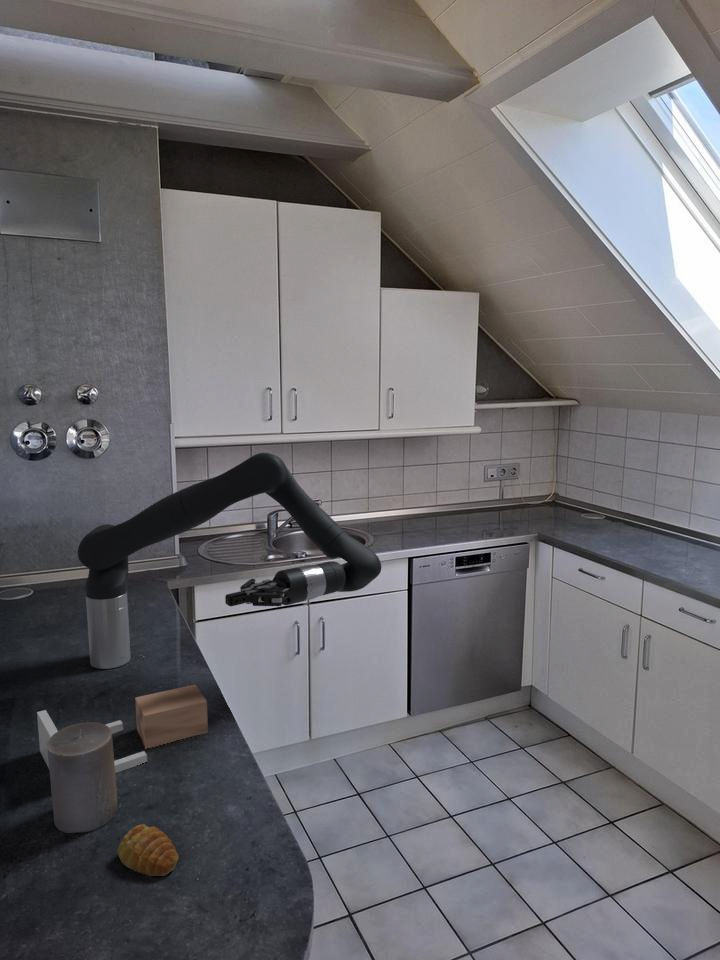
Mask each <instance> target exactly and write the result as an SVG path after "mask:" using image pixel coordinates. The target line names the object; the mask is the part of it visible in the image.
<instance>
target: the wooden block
mask: <svg viewBox="0 0 720 960" xmlns="http://www.w3.org/2000/svg"><path fill="white" fill-rule="evenodd" d="M135 716H136V717H135V718H136V730H137V733H138V735H139V737H141V738H140V740H141V739H142V740H141V742H142V744H143V746H145V747H144V749H145V750H148V749H147V748H149V749H153V748H157V747H160V746H159V745H161V746H164V745H163V744H165V745H168V744H167V743H169V744H171V743H170V742H173V741H176V740H180V739H183V738H186V737H190V736H193V735H198V734H203V733H208V734H209V728H208V727H209V725H208V723H209V722H208V701H207V699H206V698H205V696H204V694H202V692H201V690H200V689H199V688H198V686H197V685H196V684H191V685H188V686H186V685H185V686H183V687H177V688H172V689H167V690H163V691H159V692H158V691H157V692H154V693H150V694H145V695H141V696H137V697H135ZM180 741H181V740H180ZM173 743H174V742H173ZM156 746H157V747H156ZM152 747H153V748H152Z"/></svg>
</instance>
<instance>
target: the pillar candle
mask: <svg viewBox="0 0 720 960" xmlns="http://www.w3.org/2000/svg"><path fill="white" fill-rule="evenodd" d="M47 750H48V761H49V768H48V770H49V779H50V780H49V781H50V791H51V792H50V793H51V802H52V811H53V812H52V813H53V821H54V826H55V828H57V829H58V830H59V831H60V832H63V833H65V834H73V833H74V834H75V833H76V834H77V833H88V832H93V831H95V830H98V829H100V828H101V827H103V826H105V825H106V824H108V823H109V822H110V821H111V820H112V819H113V818H114V817H115V815H116V813H117V812H118V808H119V806H118V805H119V802H118V789H117V779H116V777H117V776H116V775H117V774H116V773H115V765H114V761H115V757H114V756H115V754H114V753H115V752H114V741H113V734H112V732H111V729H110V728H109V727H108V726H107V725H105V724H104V723H101V722H96V721H91V722H90V721H89V722H80V723H74V724H71V725H68V726H66V727H63V728H61V729H59V730H58V732H56V733H55V734H54V735H53V736H52V737H51V738H50V739H49V741H48V743H47Z"/></svg>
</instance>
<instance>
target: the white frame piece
mask: <svg viewBox="0 0 720 960" xmlns="http://www.w3.org/2000/svg"><path fill="white" fill-rule="evenodd" d="M36 716H37V717H36V718H37V729H38V740H39V742H38V743H39V752H40V754H41V756H42V758H43V760H44V763H45V764H46V766H47V768H48V769H49V761H48V750H47V743H48V741H49V739H50V738H51V737H52V736H53V735H54V734H55V733H56V732H58V731H59V730H58V729H57V727H56V726H55V723H54V722H53V720H52V718H51V717H50V715H49V713H48V711H47V710H46V709H44V710H40V711H36ZM123 724H124V723H123V721H122V720H120V719H119V720H116V721H112V722H109V723H106V724H104V725H107V726H108V727H109V728H110V729H111V732H112V735H113V734H115V733H118V732H121V731H124V725H123ZM145 762H147V763H148V755H147V752H146V751H145V750H142V751H140V752H136V753H134V754H131V755H128V756H125V757H123V758H120V759H119V758H118V759H115V760H114V765H115V774H117V773H121V772H123V771H126V770H129V769H132V768H134V767H137V765H138V766H140V764H141V765H143V764H142V763H144V764H146V763H145Z"/></svg>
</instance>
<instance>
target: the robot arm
mask: <svg viewBox="0 0 720 960" xmlns="http://www.w3.org/2000/svg"><path fill="white" fill-rule="evenodd" d="M261 494H266V495H267V496H268V497H270V498H272V499H273V500H274V501H276V502H277V503H278V504H279V505H280V506H281V507H283V508H284V509H285V511H286V512H287V513H288V514H289V515H290V516H291V518H292V519H293V520H294V521H295V522H296V524H297V525H298V527H299V528H300V529H301V530H302V532H303V534H305V535H306V536H307V538H308V539H309V540H310V542H312V543H313V544H314V546H316V548H318V549H319V550H320V551H321V552H322V553H323V554H324V555H325V556H326V557H327V558H328V559H330V560H333V561H330V560H329V561H325V562H321V563H316V564H307V565H306V564H305V565H301V566H296V567H292V568H291V567H289V568H286V569H281V570H279V571H276V573H275V575H274V577H273V579H272V580H271V579H263V580H262V581H260V582H256V579H255V578H250V579H249V580H247V581H246V582H245V583H244V584H242V585H241V586H239V587H240V589H239V591H236V592H231V593H228V594H225V596H224V597H225V605H227V606H228V607H234V606H239V605H243V604H246V605H252V606H253V607H281V606H282V605H283V606H290V605H295V604H297V603H303V602H306V601H310V600H314V599H317V598H319V597H321V596H325V595H330V594H333V593H337V592H338V593H345V592H346V593H348V592H349V593H350V592H356V591H360V590H361V589H364V588H365V587H367V586H368V585H369V584H370V583H371V582H372V581H374V580H375V579H376V578H377V577H378V576H380V574H381V571H382V563H381V561H380V558H379V556H378V555H377V554H376V553H375V551H374V550H372V549H371V548H369V547H368V546H367V545H365V544H364V543H361V542H360V541H359V540H357V539H355V537H354V538H353V537H351V536H350V535H349V534H347V532H346V531H345V530H344V529H343V528H342V527H341V526H340V525H339V524H338V523H337V522H336V521H335V520H334V519H333V518H332V517H331V516H330V515H329V514H328V513H327V512H326V511H325V510H324V509H322V507H320V505H318V503H316V502H315V501H314V500H313V499H312V498H311V497H310V496H309V495H308V494H307V493H306V492H305V490H304V488H302V487H301V485H300V484H299V483H298V482H297V480H296V479H295V477H294V476H293V475H292V473H291V471H290V470H289V468H288V467H287V466H286V463H285V461H283V459H282V458H281V457H279V456H277V455H276V454H272V453H270V452H259V453H256V454H254V455H252V456H250V457H248V458H247V459H245V460H243V461H242V462H241V463H239V464H237V465H236V466H233V467H232V468H230V469H228V470H227V471H225V472H223V473H221V474H219V475H217V476H214V477H211V478H209V479H205V480H201V481H200V482H196V483H194V484H192V485H190V486H187V487H185V488H182V489H180V490H178V491H176V492H173V493H171V494H169V495H167V496H165V497H163V498H161V499H159V500H157V501H156V502H154V503H153V504H151V505H149V506H148V507H146V508H145V509H143V510H142V511H140V512H139V513H137V514H136V515H134V516H133V517H131V518H129V519H128V520H125V521H123V522H121V523H117V524H115V525H113V524H111V523H109V524H106V523H105V524H102V525H98V526H96V527H95V528H94V529H92V530H91V531H89V532H88V533H87V534H86V535H85V536H84V537H83V538H82V539H81V540H80V543H79V545H78V548H77V558H78V560H79V563H81V564H82V565H83V566H84V567H86V568H88V569H89V570H88V576H87V579H86V582H85V590H84V591H85V604H86V605H85V606H86V617H87V632H88V633H87V634H88V647H89V648H88V650H89V652H88V653H89V663H90V666H91V667H92V668H95V669H98V670H99V669H100V670H108V669H109V670H110V669H114V668H119V667H122V666H124V665H126V664H128V663H129V662H130V661H131V659H132V658H131V645H130V644H131V642H130V641H131V640H130V625H129V623H130V622H129V603H128V580H129V556H131V555H132V554H134V553H137V552H138V551H140V550H142V549H145V548H146V547H149V546H152V545H155V544H158V543H160V542H163V541H165V540H169V539H171V538H173V537H176V536H178V535H181V534H183V533H185V532H187V531H189V530H192V529H195V528H196V527H199V526H201V525H202V524H204V523H206V522H208V521H209V520H211V519H212V518H214V517H216V516H217V515H219V514H220V513H221V512H223V511H224V510H226V509H227V508H229V507H230V506H232V505H234V504H236V503H238V502H241V501H243V500H246V499H249V498H252V497H255V496H259V495H261ZM337 558H340V559H342V560H344V561H345V562H344V563H342V564H340V562H337V561H334V559H337Z"/></svg>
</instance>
